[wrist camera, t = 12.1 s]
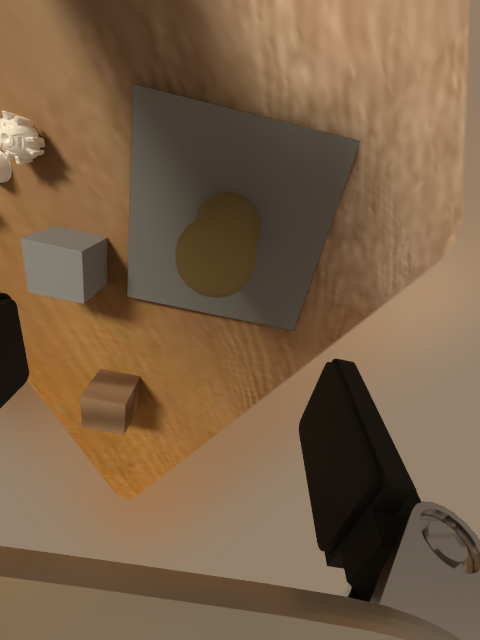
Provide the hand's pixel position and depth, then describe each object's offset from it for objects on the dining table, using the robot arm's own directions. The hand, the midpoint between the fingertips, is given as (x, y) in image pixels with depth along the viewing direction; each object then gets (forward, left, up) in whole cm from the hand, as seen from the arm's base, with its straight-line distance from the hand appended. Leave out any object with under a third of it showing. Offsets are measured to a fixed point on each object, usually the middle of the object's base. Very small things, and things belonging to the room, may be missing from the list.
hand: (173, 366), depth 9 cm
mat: (0, 0, -22) cm, 22 cm away
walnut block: (+23, -10, -22) cm, 33 cm away
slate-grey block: (+6, -14, -22) cm, 26 cm away
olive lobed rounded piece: (0, 0, -21) cm, 21 cm away
